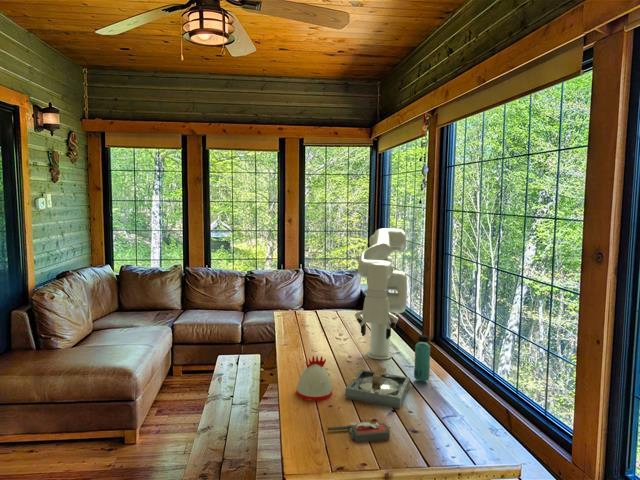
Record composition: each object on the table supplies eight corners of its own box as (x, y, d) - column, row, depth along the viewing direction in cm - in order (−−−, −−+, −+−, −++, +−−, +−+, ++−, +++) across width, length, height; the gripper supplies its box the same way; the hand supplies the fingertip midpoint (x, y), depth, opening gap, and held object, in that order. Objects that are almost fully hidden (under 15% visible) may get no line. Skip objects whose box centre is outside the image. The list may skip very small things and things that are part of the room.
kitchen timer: (335, 400, 167) (336, 361, 166) (299, 402, 165) (299, 363, 163) (328, 385, 181) (329, 349, 179) (295, 386, 178) (295, 350, 177)
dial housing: (360, 378, 188) (360, 368, 188) (409, 387, 180) (410, 377, 180) (345, 398, 169) (345, 387, 168) (399, 408, 161) (400, 397, 161)
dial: (364, 376, 185) (365, 362, 184) (402, 382, 179) (403, 368, 178) (353, 391, 170) (353, 376, 169) (394, 398, 164) (395, 383, 164)
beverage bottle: (430, 380, 188) (432, 334, 187) (428, 386, 182) (430, 338, 180) (414, 377, 190) (416, 332, 189) (412, 383, 184) (414, 336, 182)
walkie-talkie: (384, 426, 148) (326, 431, 145) (385, 414, 148) (326, 418, 144) (393, 440, 140) (332, 445, 136) (394, 427, 140) (332, 432, 136)
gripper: (353, 293, 173) (351, 336, 174) (397, 297, 167) (395, 342, 168) (358, 290, 180) (357, 331, 181) (400, 294, 174) (399, 337, 175)
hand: (375, 336), depth 174 cm, fingers open, 9 cm apart
